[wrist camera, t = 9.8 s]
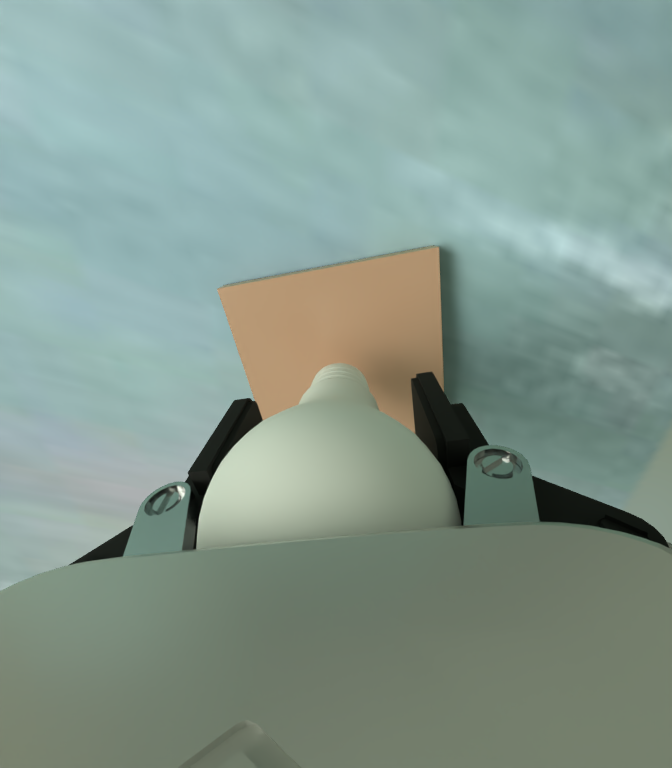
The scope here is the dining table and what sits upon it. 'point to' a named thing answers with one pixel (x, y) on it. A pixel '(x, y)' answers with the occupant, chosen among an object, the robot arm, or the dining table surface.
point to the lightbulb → (326, 473)
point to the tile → (341, 328)
